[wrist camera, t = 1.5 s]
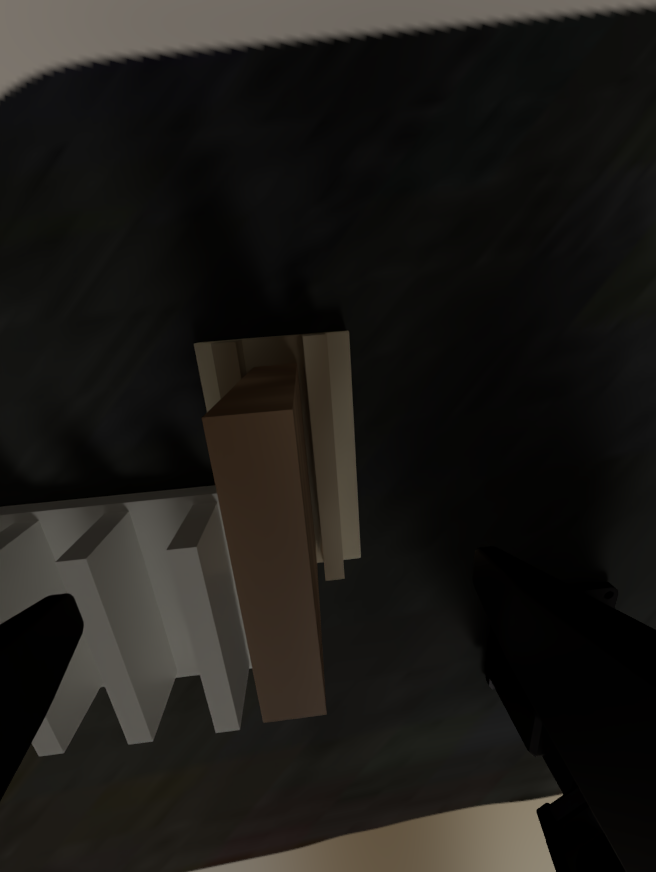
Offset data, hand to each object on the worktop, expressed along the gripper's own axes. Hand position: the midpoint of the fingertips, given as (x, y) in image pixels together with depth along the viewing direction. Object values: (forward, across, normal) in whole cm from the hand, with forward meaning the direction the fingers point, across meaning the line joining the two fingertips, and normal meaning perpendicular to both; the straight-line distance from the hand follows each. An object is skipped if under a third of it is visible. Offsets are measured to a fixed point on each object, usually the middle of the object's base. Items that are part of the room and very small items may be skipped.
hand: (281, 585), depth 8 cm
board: (+7, 0, 0) cm, 7 cm away
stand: (+8, 0, 0) cm, 8 cm away
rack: (+8, +9, +6) cm, 13 cm away
